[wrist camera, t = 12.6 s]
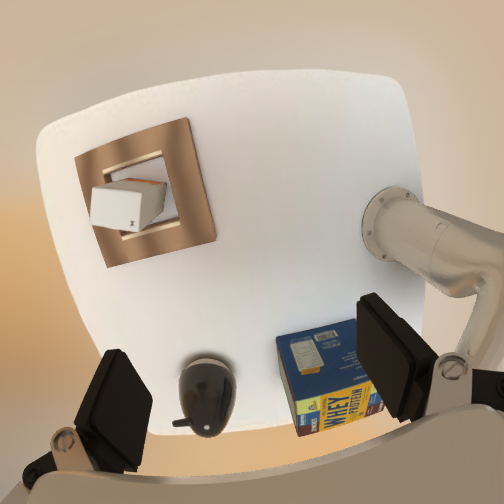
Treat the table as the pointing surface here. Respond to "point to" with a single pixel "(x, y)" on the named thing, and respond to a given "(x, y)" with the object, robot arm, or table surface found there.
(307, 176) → the table surface
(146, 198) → the skincare box
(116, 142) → the wooden square frame
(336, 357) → the protein box
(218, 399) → the pump dispenser
